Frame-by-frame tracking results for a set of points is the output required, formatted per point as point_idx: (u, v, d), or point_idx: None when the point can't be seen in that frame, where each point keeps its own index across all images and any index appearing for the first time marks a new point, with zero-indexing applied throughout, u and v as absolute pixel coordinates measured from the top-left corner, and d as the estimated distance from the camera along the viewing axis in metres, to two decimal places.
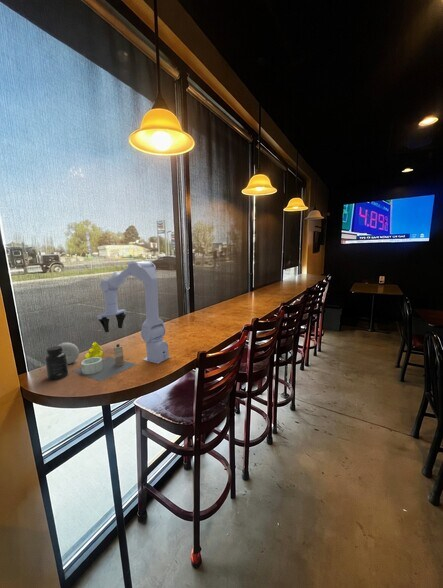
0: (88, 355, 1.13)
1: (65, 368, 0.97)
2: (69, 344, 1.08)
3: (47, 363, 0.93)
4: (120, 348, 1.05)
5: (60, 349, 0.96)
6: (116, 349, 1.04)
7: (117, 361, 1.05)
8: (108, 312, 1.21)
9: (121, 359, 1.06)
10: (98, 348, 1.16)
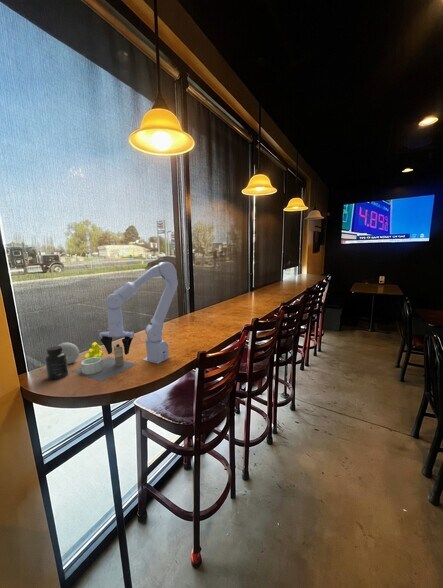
0: (88, 355, 1.13)
1: (65, 368, 0.97)
2: (69, 344, 1.08)
3: (47, 363, 0.93)
4: (120, 348, 1.05)
5: (60, 349, 0.96)
6: (116, 349, 1.04)
7: (117, 361, 1.05)
8: (109, 332, 1.04)
9: (121, 359, 1.06)
10: (98, 348, 1.16)
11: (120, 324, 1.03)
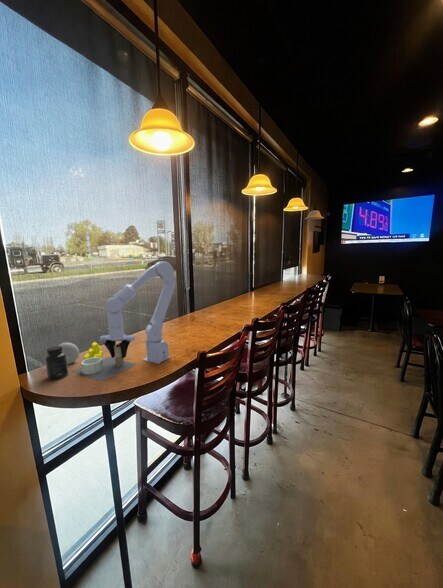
0: (88, 355, 1.13)
1: (65, 368, 0.97)
2: (69, 344, 1.08)
3: (47, 363, 0.93)
4: (120, 348, 1.05)
5: (60, 349, 0.96)
6: (116, 349, 1.04)
7: (117, 361, 1.05)
8: (109, 336, 1.04)
9: (121, 359, 1.06)
10: (98, 348, 1.16)
11: (120, 328, 1.03)
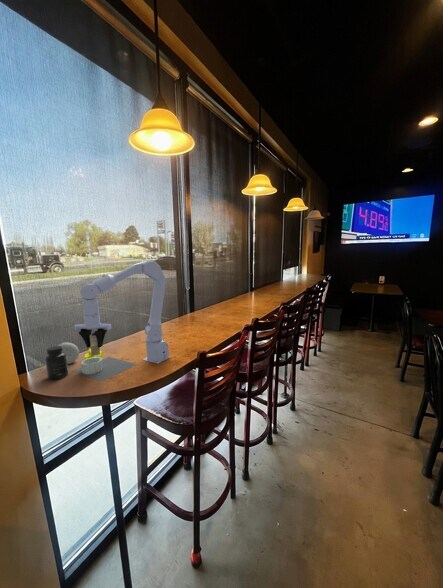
0: (88, 355, 1.13)
1: (65, 368, 0.97)
2: (69, 344, 1.08)
3: (47, 363, 0.93)
4: None
5: (60, 349, 0.96)
6: (91, 338, 0.99)
7: (93, 351, 1.00)
8: None
9: (97, 349, 1.00)
10: None
11: (96, 315, 0.98)
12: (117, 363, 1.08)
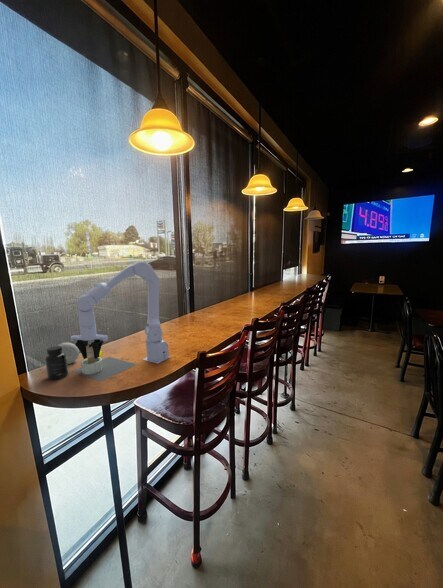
0: None
1: (65, 368, 0.97)
2: (69, 344, 1.08)
3: (47, 363, 0.93)
4: (92, 348, 1.00)
5: (60, 349, 0.96)
6: (88, 349, 0.99)
7: (89, 362, 1.00)
8: (80, 335, 0.99)
9: (94, 360, 1.00)
10: None
11: (92, 327, 0.98)
12: (117, 363, 1.08)
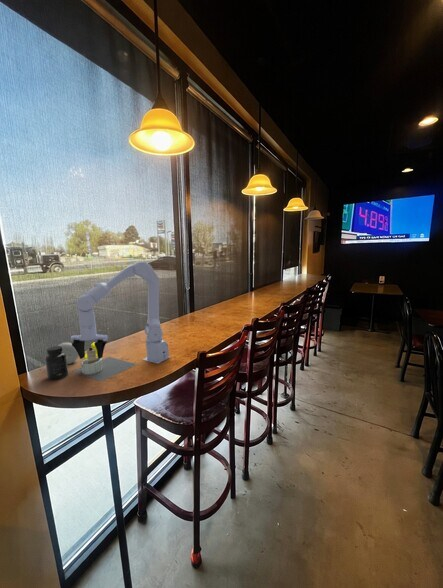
0: None
1: (65, 368, 0.97)
2: (69, 344, 1.08)
3: (47, 363, 0.93)
4: (93, 352, 1.00)
5: (60, 349, 0.96)
6: (88, 353, 0.99)
7: None
8: (80, 335, 0.99)
9: None
10: None
11: (92, 327, 0.98)
12: (117, 363, 1.08)
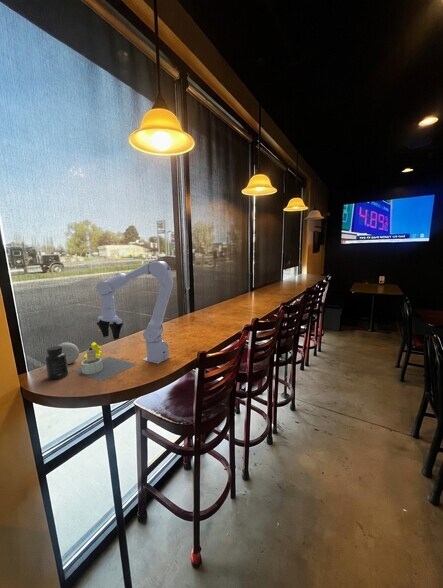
0: None
1: (65, 368, 0.97)
2: (69, 344, 1.08)
3: (47, 363, 0.93)
4: (93, 352, 1.00)
5: (60, 349, 0.96)
6: (88, 353, 0.99)
7: None
8: None
9: None
10: (97, 348, 1.15)
11: (109, 310, 1.08)
12: (117, 363, 1.08)
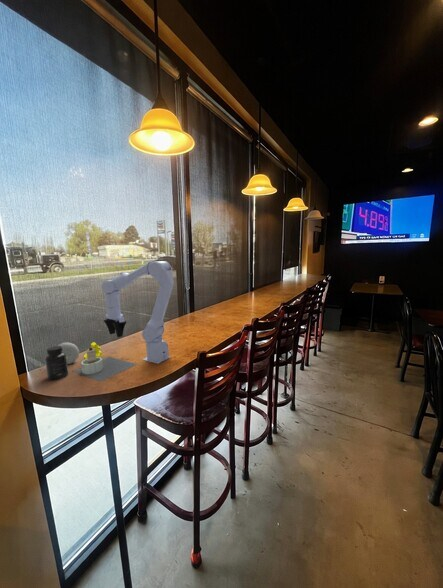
0: None
1: (65, 368, 0.97)
2: (69, 344, 1.08)
3: (47, 363, 0.93)
4: (93, 352, 1.00)
5: (60, 349, 0.96)
6: (88, 353, 0.99)
7: None
8: None
9: None
10: (97, 348, 1.15)
11: (114, 308, 1.11)
12: (117, 363, 1.08)
